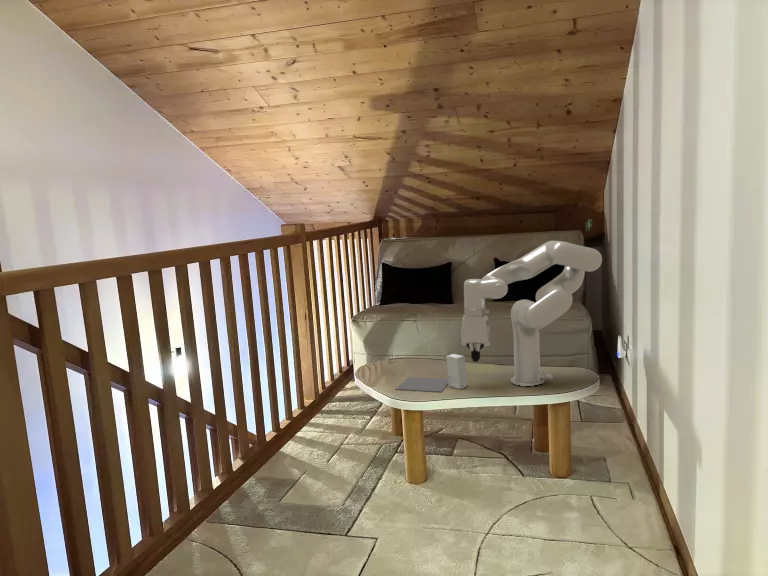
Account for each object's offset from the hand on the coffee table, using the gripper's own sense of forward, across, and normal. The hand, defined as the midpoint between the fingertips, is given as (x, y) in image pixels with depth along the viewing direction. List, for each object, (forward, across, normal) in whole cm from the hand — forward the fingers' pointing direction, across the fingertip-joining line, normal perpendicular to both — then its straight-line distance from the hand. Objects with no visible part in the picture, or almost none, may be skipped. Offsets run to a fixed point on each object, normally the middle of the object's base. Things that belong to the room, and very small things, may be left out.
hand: (475, 360), depth 216 cm
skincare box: (+11, +8, 0) cm, 13 cm away
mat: (+11, +20, 0) cm, 23 cm away
